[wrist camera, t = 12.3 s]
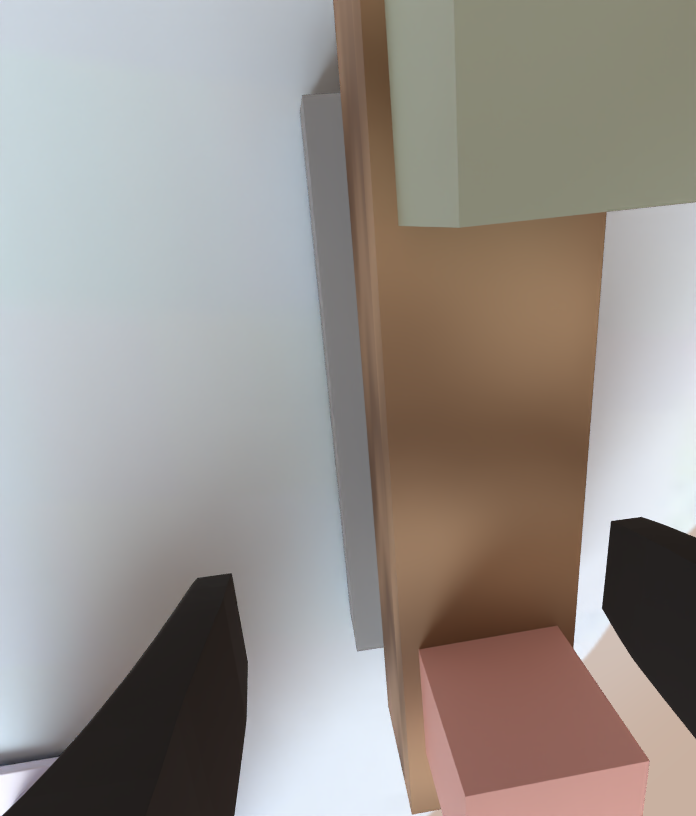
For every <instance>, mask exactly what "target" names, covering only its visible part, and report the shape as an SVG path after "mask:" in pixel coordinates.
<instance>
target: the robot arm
mask: <svg viewBox="0 0 696 816" xmlns="http://www.w3.org/2000/svg"><path fill="white" fill-rule="evenodd" d="M602 609H603V611H604V613H605V614H606V616H607V618H608V619H609V621H610V623H611V625H612V626H613V628H614V629H615V631H616V633H617V635H618V636H619V638H620V639H621V641H622V643H623V644H624V646H625V647H626V649H627V651H628V652H629V654H630V655H631V657H632V658H633V660H634V661H635V662H636V664H637V665H638V666H639V668H640V669H641V670H642V671H643V673H644V674H645V675H646V677H647V678H648V679H649V680H650V682H651V683H652V684H653V686H654V687H655V688H656V689H657V691H658V692H659V693H660V695H661V696H662V697H663V698H664V700H665V701H666V702H667V703H668V705H669V706H670V707H671V708H672V710H673V711H674V712H675V713H676V714H677V716H678V717H679V718H680V720H681V721H682V722H683V723H684V724H685V726H686V727H687V728H688V730H689V731H690V732H691V733H692V735H693V736H694V737H695V738H696V538H695V537H693V536H691V535H688V534H686V533H683V532H681V531H678V530H676V529H673V528H671V527H668V526H666V525H663V524H660V523H658V522H655V521H652V520H649V519H646V518H643V517H638V518H631V519H623V520H616V521H611V527H610V537H609V546H608V556H607V566H606V576H605V585H604V595H603V605H602ZM247 676H248V661H247V656H246V650H245V645H244V639H243V633H242V628H241V622H240V617H239V611H238V606H237V600H236V595H235V589H234V583H233V578H232V573H230V574H223V575H216V576H208V577H201V578H197V579H196V580H195V582H194V583H193V584H192V585H191V587H190V588H189V590H188V591H187V593H186V594H185V596H184V597H183V598H182V600H181V601H180V603H179V604H178V606H177V607H176V609H175V610H174V612H173V613H172V615H171V616H170V618H169V619H168V620H167V622H166V623H165V625H164V626H163V628H162V629H161V631H160V632H159V633H158V635H157V636H156V638H155V639H154V640H153V642H152V643H151V644H150V646H149V647H148V648H147V650H146V651H145V652H144V654H143V655H142V657H141V658H140V659H139V661H138V662H137V663H136V665H135V666H134V667H133V669H132V670H131V671H130V673H129V674H128V675H127V677H126V678H125V679H124V680H123V682H122V683H121V684H120V685H119V687H118V688H117V689H116V690H115V692H114V693H113V694H112V695H111V696H110V698H109V699H108V700H107V701H106V703H105V704H104V705H103V706H102V708H101V709H100V710H99V711H98V712H97V714H96V715H95V716H94V717H93V719H92V720H91V721H90V722H89V723H88V725H87V726H86V727H85V728H84V729H83V730H82V732H81V733H80V734H79V735H78V736H77V737H76V738H75V740H74V741H73V742H72V743H71V744H70V745H69V746H68V747H67V749H66V750H65V751H64V752H63V753H62V754H61V755H60V756H59V757H54V758H48V759H42V760H36V761H30V762H24V763H18V764H12V765H6V766H0V816H234V814H235V806H236V798H237V791H238V783H239V775H240V768H241V760H242V752H243V744H244V736H245V728H246V719H247Z"/></svg>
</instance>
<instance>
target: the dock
mask: <svg viewBox="0 0 696 816" xmlns="http://www.w3.org/2000/svg"><path fill="white" fill-rule="evenodd" d="M300 117H301V127H302V136H303V146H304V156H305V166H306V176H307V186H308V196H309V206H310V216H311V226H312V236H313V246H314V256H315V265H316V275H317V285H318V295H319V305H320V315H321V325H322V335H323V345H324V355H325V365H326V375H327V385H328V394H329V404H330V414H331V424H332V434H333V444H334V454H335V464H336V474H337V484H338V494H339V504H340V514H341V523H342V533H343V543H344V553H345V563H346V573H347V583H348V593H349V603H350V613H351V619H352V625H353V630H354V636H355V642H356V648H357V651H363V650H369V649H376V648H382V647H384V644H383V631H382V618H381V605H380V593H379V580H378V567H377V554H376V541H375V529H374V516H373V503H372V490H371V477H370V465H369V452H368V439H367V426H366V414H365V401H364V388H363V375H362V362H361V350H360V337H359V324H358V311H357V299H356V286H355V273H354V260H353V247H352V235H351V222H350V209H349V196H348V183H347V171H346V158H345V145H344V132H343V120H342V107H341V94H340V93H327V94H313V95H302V101H301V107H300Z"/></svg>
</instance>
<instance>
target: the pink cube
mask: <svg viewBox="0 0 696 816" xmlns="http://www.w3.org/2000/svg"><path fill="white" fill-rule="evenodd" d="M419 663H420V677H421V691H422V705H423V718H424V732H425V746H426V755H427V759H428V762H429V766H430V770H431V773H432V777H433V781H434V784H435V788H436V792H437V796H438V799H439V803H440V807H441V810H442V814H443V816H643V808H644V801H645V792H646V785H647V777H648V770H649V762H650V761H649V759H648V758H647V756H646V755H645V753H644V752H643V750H642V749H641V747H640V746H639V745H638V743H637V742H636V740H635V739H634V737H633V736H632V734H631V733H630V731H629V730H628V728H627V727H626V725H625V724H624V723H623V721H622V720H621V718H620V717H619V715H618V714H617V712H616V711H615V709H614V708H613V707H612V705H611V703H610V702H609V701H608V699H607V698H606V696H605V695H604V693H603V692H602V690H601V689H600V687H599V686H598V685H597V683H596V681H595V680H594V679H593V677H592V676H591V674H590V673H589V671H588V670H587V668H586V667H585V665H584V664H583V662H582V661H581V659H580V658H579V657H578V655H577V654H576V652H575V651H574V649H573V648H572V646H571V645H570V643H569V642H568V640H567V639H566V637H565V636H564V635H563V633H562V632H561V630H560V629H559V627H558V626H552V627H546V628H541V629H535V630H529V631H523V632H517V633H512V634H506V635H500V636H494V637H488V638H482V639H477V640H471V641H465V642H459V643H453V644H448V645H442V646H436V647H430V648H424V649H419Z"/></svg>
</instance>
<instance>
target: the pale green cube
mask: <svg viewBox="0 0 696 816" xmlns="http://www.w3.org/2000/svg"><path fill="white" fill-rule="evenodd" d="M384 1H385V17H386V33H387V49H388V65H389V81H390V97H391V113H392V129H393V145H394V162H395V178H396V194H397V210H398V226H417V227H452V228H461V227H471V226H480V225H489V224H498V223H508V222H517V221H526V220H535V219H545V218H554V217H563V216H572V215H582V214H591V213H600V212H609V211H619V210H628V209H637V208H646V207H656V206H665V205H674V204H683V203H693V202H696V0H384Z"/></svg>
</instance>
